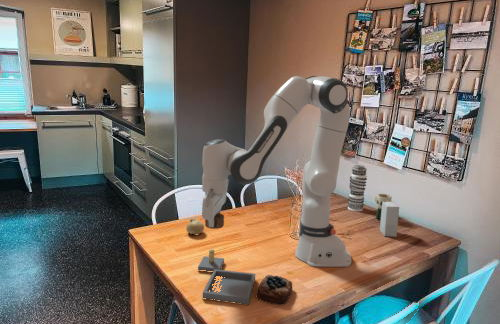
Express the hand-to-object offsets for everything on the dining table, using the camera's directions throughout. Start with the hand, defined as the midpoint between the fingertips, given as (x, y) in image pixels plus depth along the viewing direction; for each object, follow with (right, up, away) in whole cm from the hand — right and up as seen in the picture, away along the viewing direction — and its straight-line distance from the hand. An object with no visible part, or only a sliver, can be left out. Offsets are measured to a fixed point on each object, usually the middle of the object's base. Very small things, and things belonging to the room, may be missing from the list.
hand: (214, 222), depth 130 cm
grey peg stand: (-2, -18, +6) cm, 19 cm away
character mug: (+83, -9, +61) cm, 103 cm away
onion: (-12, -11, +35) cm, 39 cm away
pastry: (+21, -23, -9) cm, 32 cm away
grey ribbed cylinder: (+73, -5, +75) cm, 105 cm away
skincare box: (+79, -13, +43) cm, 91 cm away
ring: (0, -1, 0) cm, 1 cm away
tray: (+6, -21, -8) cm, 24 cm away
